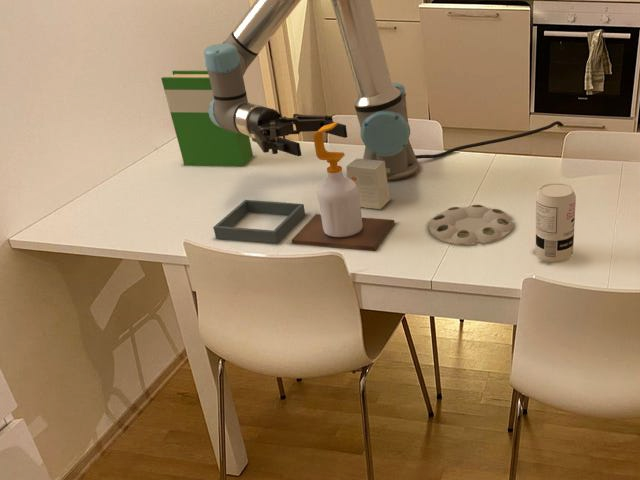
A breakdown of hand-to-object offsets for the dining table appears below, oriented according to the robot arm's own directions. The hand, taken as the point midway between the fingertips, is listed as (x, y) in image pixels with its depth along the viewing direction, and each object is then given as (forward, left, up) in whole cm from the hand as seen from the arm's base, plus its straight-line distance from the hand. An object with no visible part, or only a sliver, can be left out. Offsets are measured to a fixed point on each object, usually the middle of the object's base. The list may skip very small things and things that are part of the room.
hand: (322, 140), depth 164 cm
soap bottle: (-1, +2, -21) cm, 21 cm away
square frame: (+17, -8, -21) cm, 28 cm away
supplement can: (-43, +29, -22) cm, 56 cm away
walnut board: (-1, +2, -21) cm, 22 cm away
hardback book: (+26, -57, -22) cm, 66 cm away
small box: (-10, -12, -22) cm, 27 cm away
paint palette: (-30, +9, -22) cm, 38 cm away
